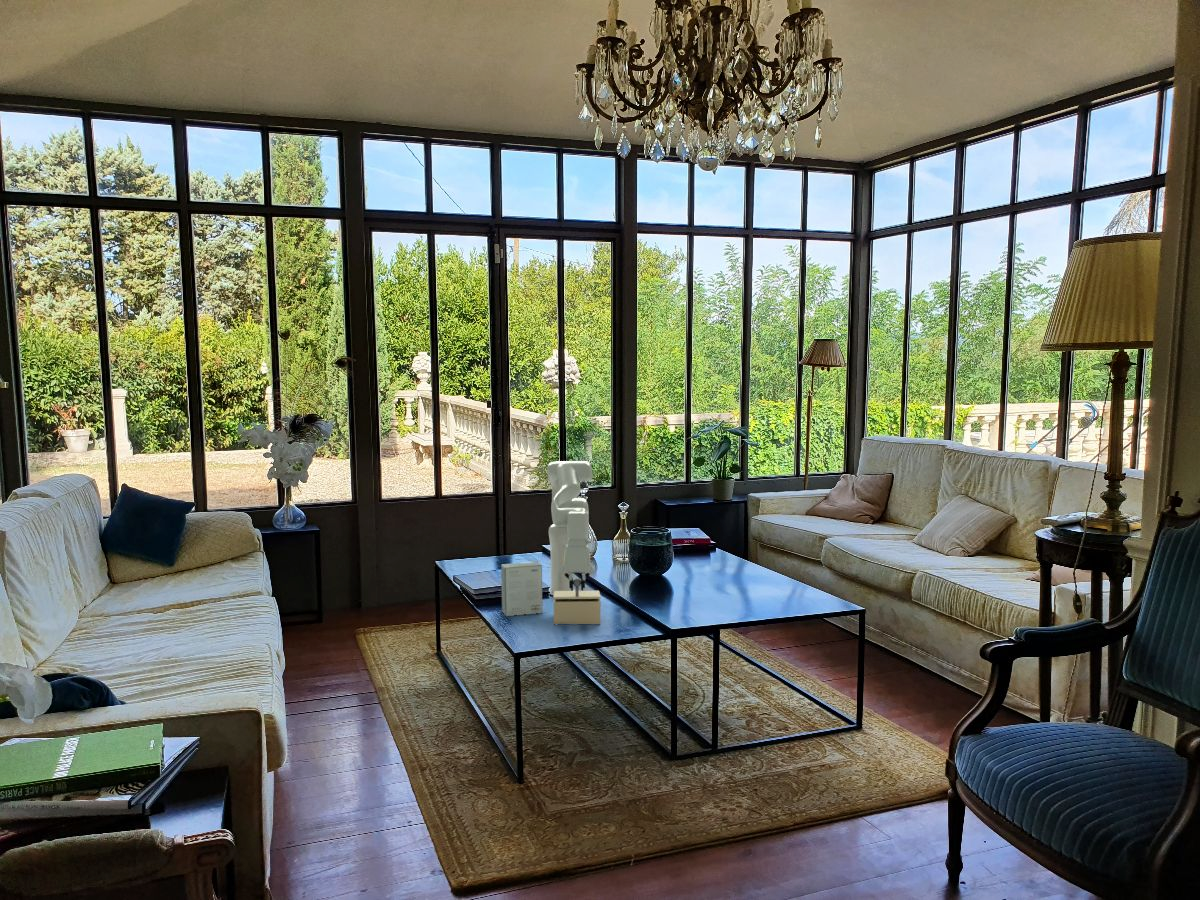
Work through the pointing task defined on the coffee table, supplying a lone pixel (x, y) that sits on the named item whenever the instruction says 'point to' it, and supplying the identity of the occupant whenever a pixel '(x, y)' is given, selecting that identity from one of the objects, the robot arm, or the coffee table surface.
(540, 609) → the hard drive box
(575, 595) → the carton flap
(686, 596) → the coffee table surface
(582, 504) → the robot arm
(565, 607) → the carton
